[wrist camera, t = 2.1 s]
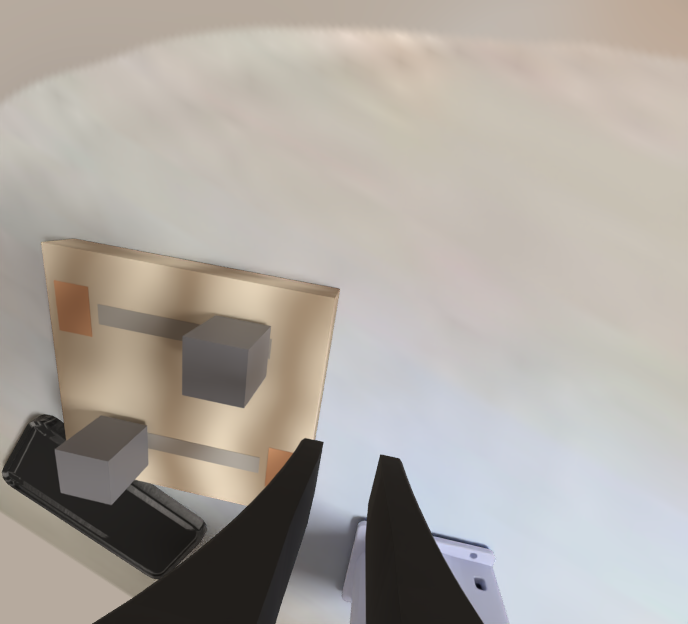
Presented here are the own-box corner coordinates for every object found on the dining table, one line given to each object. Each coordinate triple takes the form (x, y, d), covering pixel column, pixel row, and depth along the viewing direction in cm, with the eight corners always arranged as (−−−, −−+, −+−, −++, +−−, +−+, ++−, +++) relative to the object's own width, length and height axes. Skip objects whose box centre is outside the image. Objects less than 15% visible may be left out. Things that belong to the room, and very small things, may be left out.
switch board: (339, 289, 19) (334, 298, 17) (306, 492, 23) (299, 518, 21) (74, 238, 20) (40, 242, 18) (93, 444, 24) (68, 464, 22)
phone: (32, 415, 23) (207, 535, 25) (48, 406, 24) (214, 521, 26) (-3, 478, 26) (158, 584, 27) (13, 467, 27) (166, 570, 28)
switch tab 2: (271, 326, 17) (248, 349, 14) (266, 376, 18) (244, 408, 15) (215, 315, 17) (182, 336, 14) (213, 365, 18) (181, 395, 15)
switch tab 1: (147, 425, 20) (108, 461, 17) (148, 464, 21) (111, 505, 18) (100, 415, 20) (54, 449, 17) (104, 454, 21) (60, 492, 18)
